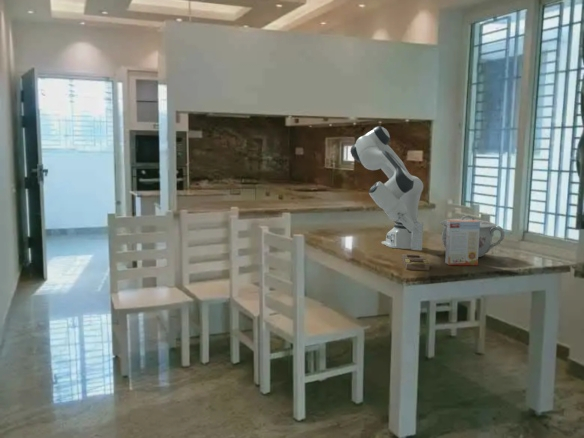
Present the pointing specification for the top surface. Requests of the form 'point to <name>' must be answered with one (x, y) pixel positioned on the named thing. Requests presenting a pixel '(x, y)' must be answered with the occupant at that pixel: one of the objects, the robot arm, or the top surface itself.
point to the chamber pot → (484, 234)
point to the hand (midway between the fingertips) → (418, 234)
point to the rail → (415, 262)
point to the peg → (417, 237)
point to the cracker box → (462, 242)
